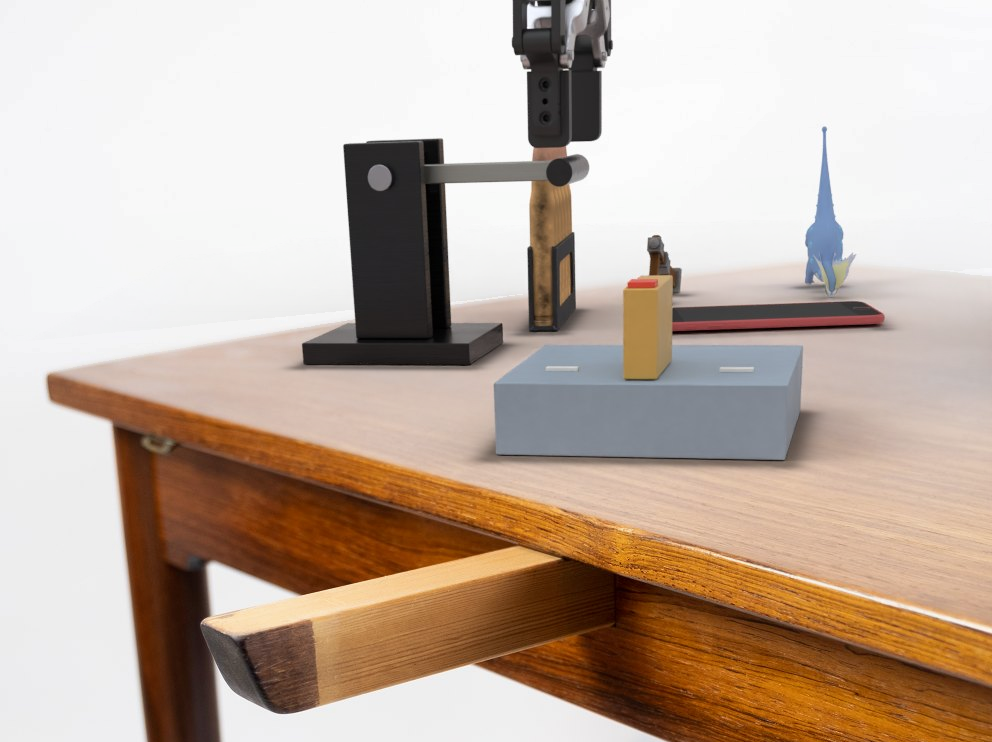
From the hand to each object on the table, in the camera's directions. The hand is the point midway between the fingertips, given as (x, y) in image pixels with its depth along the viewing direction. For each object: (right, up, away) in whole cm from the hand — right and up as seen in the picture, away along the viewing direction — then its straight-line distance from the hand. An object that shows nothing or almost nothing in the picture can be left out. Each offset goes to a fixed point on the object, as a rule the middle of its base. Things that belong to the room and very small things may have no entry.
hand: (566, 144), depth 83 cm
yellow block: (+2, -17, -19) cm, 26 cm away
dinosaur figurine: (+20, -1, +27) cm, 34 cm away
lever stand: (-9, -10, +7) cm, 15 cm away
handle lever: (-5, -2, +2) cm, 6 cm away
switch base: (+3, -19, -17) cm, 25 cm away
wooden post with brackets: (+8, -2, +25) cm, 27 cm away
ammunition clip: (0, -5, +18) cm, 18 cm away
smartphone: (+13, -7, +12) cm, 19 cm away
